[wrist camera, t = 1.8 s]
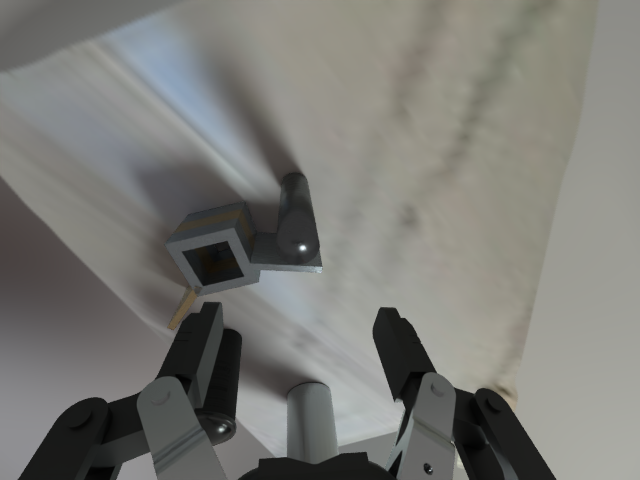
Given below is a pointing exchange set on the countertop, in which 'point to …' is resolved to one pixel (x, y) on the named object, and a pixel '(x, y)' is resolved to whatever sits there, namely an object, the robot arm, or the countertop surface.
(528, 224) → the countertop surface
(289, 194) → the hinge pin
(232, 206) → the hinge
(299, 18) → the countertop surface
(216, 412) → the drinking cup
